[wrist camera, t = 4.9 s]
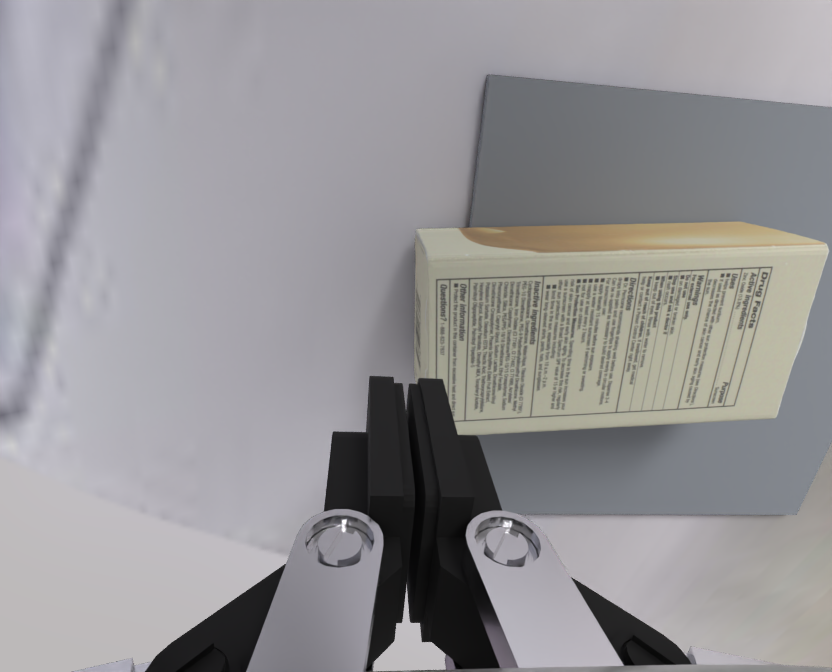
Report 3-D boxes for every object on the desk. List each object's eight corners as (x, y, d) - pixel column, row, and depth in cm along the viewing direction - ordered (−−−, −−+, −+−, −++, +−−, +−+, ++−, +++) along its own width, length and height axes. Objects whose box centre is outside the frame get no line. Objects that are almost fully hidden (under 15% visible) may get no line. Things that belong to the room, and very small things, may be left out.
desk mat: (487, 75, 17) (489, 74, 17) (973, 121, 19) (985, 122, 18) (434, 507, 24) (435, 513, 24) (790, 509, 26) (796, 514, 26)
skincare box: (411, 379, 21) (702, 372, 22) (421, 443, 17) (776, 430, 18) (413, 216, 18) (742, 217, 19) (426, 246, 14) (840, 244, 15)
